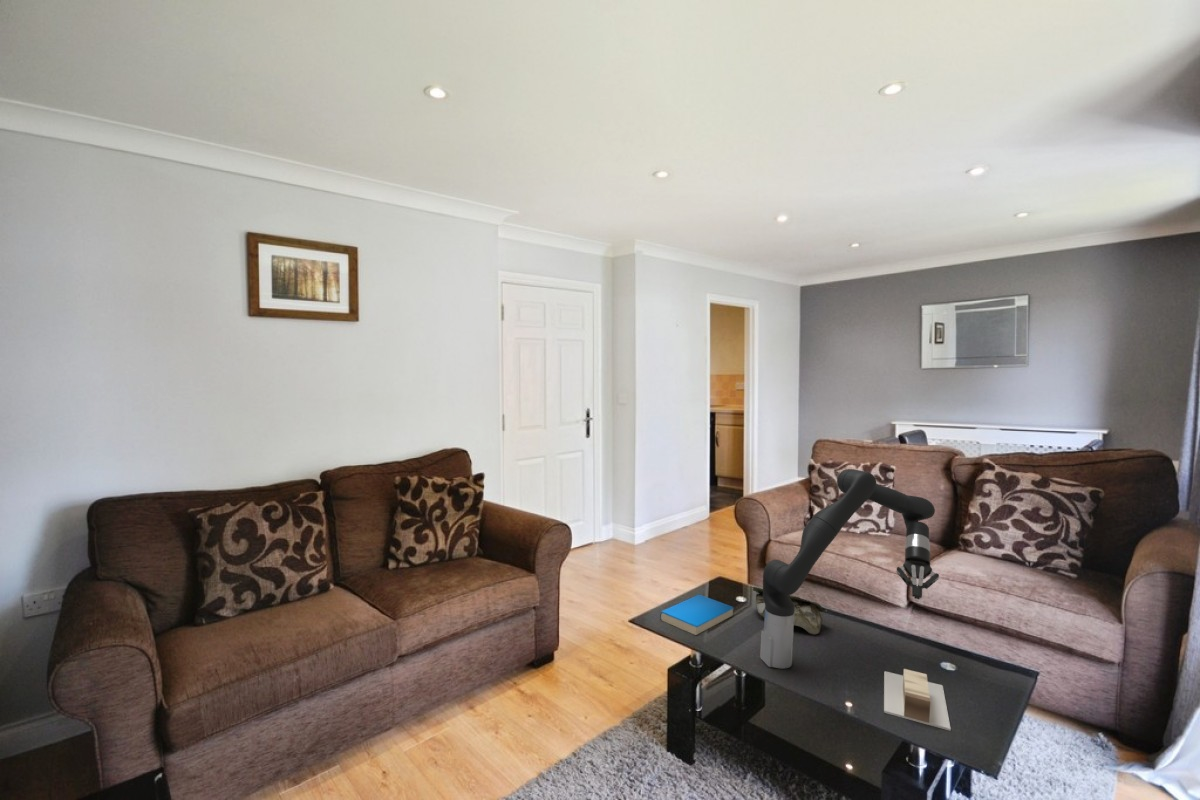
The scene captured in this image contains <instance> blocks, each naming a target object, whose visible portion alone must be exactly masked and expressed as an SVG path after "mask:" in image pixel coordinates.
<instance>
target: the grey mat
mask: <svg viewBox="0 0 1200 800" xmlns="http://www.w3.org/2000/svg"><path fill="white" fill-rule="evenodd" d="M883 673H884V675H883V678H884V679H883V680H884V681H883V686H884V688H883V692H884V693H883V713H885V714H888V715H892V716H894V717H898V718H902V719H904V720H905V719H906V720H910V721H912V722H913V721H914V722H917V723H919V724H924V725H927V726H931V727H935V728H938V729H943V730H946V731H949V732H950V731H952V728H951V723H950V719H949V717H950V716H949V713H948V708H947V701H946V697H945V696H946V695H945V692H944V690H945V689H944V686H943V685H942V684H938V683H934V682H931V681H928V688H929V695H930V717H929V723H927V722H924V721H920V720H916V719H913V718H909V717H906V716H904V704H903V674H898V673H893V672H891V671H884V672H883Z"/></svg>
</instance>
